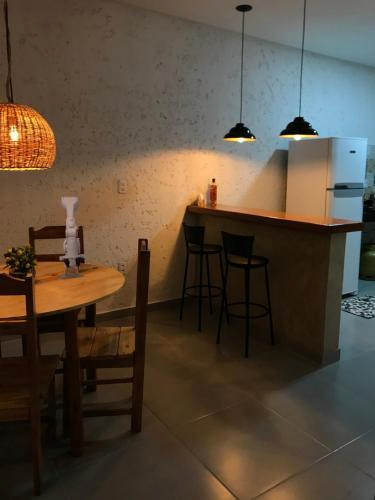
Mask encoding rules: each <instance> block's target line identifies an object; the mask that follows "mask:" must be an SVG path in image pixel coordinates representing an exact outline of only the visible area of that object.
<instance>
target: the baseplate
mask: <svg viewBox="0 0 375 500" xmlns="http://www.w3.org/2000/svg"><path fill="white" fill-rule="evenodd" d="M58 277H59V278H60V279H61V280H67V279H75V278H83V277H84V274H82V273H81V272H78V273H76V276H70V277H68V276H67V275H66V273H65V274H58Z"/></svg>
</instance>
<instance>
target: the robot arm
mask: <svg viewBox="0 0 375 500" xmlns="http://www.w3.org/2000/svg"><path fill="white" fill-rule="evenodd" d="M61 209H62V211H63V212H65V214H66V218H65V239H64V241H63V244H62V245H63V254H65V255H61V256H59V261H63V263H64V265H63V267H64V268H70V266H77V267H78V271H79V270H80V269H82V268H81V266H80V265H81V264H82V261H83V259H85V258H86V254H84V253H83V254H81V253H80V252H81V242H80V240H79V239H77V238H78V228H77V227H78V226H77V218H75V213H76V212H78V209H79V198H78V196H61Z"/></svg>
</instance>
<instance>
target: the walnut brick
mask: <svg viewBox="0 0 375 500" xmlns="http://www.w3.org/2000/svg"><path fill="white" fill-rule="evenodd" d="M64 268H65V267H64ZM65 274H66V275H67V276H68V277H70V276H76V269H75V268H74V267H71V268H65Z"/></svg>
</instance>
